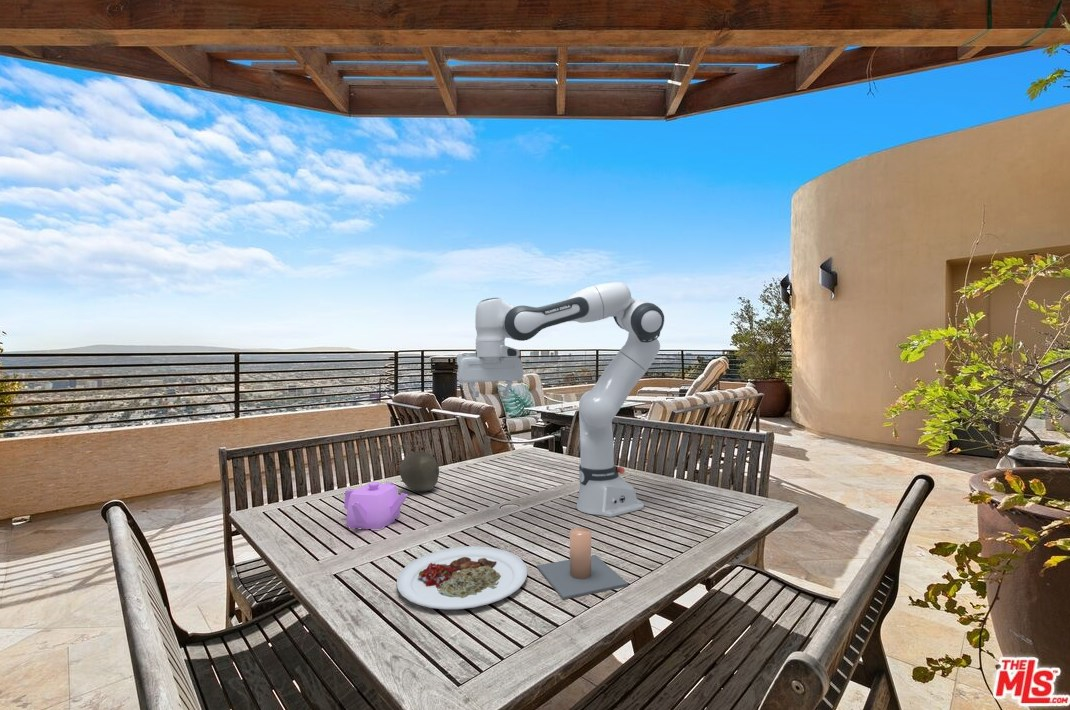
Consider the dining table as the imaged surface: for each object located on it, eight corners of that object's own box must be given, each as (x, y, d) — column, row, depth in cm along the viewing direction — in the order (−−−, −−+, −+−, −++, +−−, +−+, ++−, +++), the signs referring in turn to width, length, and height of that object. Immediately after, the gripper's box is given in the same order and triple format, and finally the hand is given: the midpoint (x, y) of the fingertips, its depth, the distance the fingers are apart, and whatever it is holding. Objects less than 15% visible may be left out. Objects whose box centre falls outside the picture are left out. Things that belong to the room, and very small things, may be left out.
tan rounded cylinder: (584, 567, 117) (585, 526, 116) (595, 576, 112) (595, 534, 112) (566, 570, 115) (566, 529, 115) (575, 580, 110) (575, 537, 110)
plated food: (543, 602, 103) (543, 587, 103) (397, 627, 94) (397, 610, 94) (510, 546, 131) (510, 534, 131) (396, 562, 123) (396, 549, 123)
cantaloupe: (427, 484, 192) (426, 446, 192) (446, 491, 181) (445, 452, 181) (394, 491, 182) (393, 452, 182) (412, 500, 172) (411, 458, 172)
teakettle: (392, 509, 163) (391, 472, 163) (410, 524, 149) (409, 484, 149) (339, 520, 153) (338, 481, 153) (353, 537, 139) (352, 494, 139)
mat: (595, 557, 124) (595, 554, 124) (628, 585, 109) (628, 583, 109) (536, 567, 118) (536, 565, 118) (563, 599, 103) (563, 597, 103)
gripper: (458, 351, 141) (459, 399, 141) (524, 350, 148) (525, 395, 148) (454, 351, 147) (455, 397, 147) (518, 350, 154) (518, 393, 154)
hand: (491, 396), depth 148 cm, fingers open, 8 cm apart
